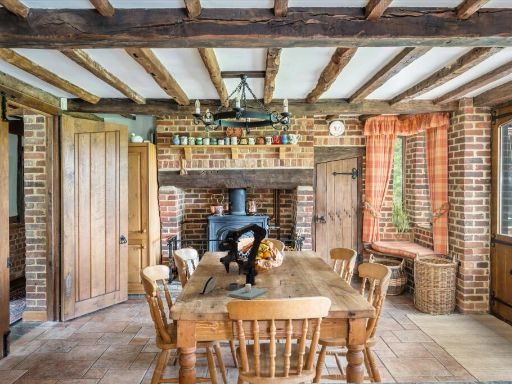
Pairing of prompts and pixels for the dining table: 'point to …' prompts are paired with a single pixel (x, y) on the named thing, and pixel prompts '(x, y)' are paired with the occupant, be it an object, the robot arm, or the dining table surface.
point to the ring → (233, 286)
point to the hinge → (208, 285)
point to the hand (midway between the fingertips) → (233, 274)
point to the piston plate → (247, 292)
